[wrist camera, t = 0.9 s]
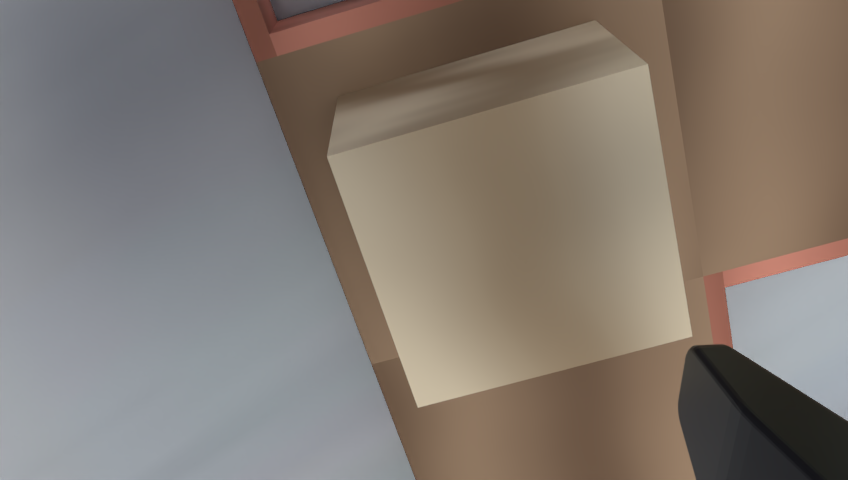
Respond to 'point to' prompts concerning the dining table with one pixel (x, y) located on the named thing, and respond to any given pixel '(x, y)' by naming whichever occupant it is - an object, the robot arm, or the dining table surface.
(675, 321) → the birch block
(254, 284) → the dining table surface
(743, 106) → the trap deck
